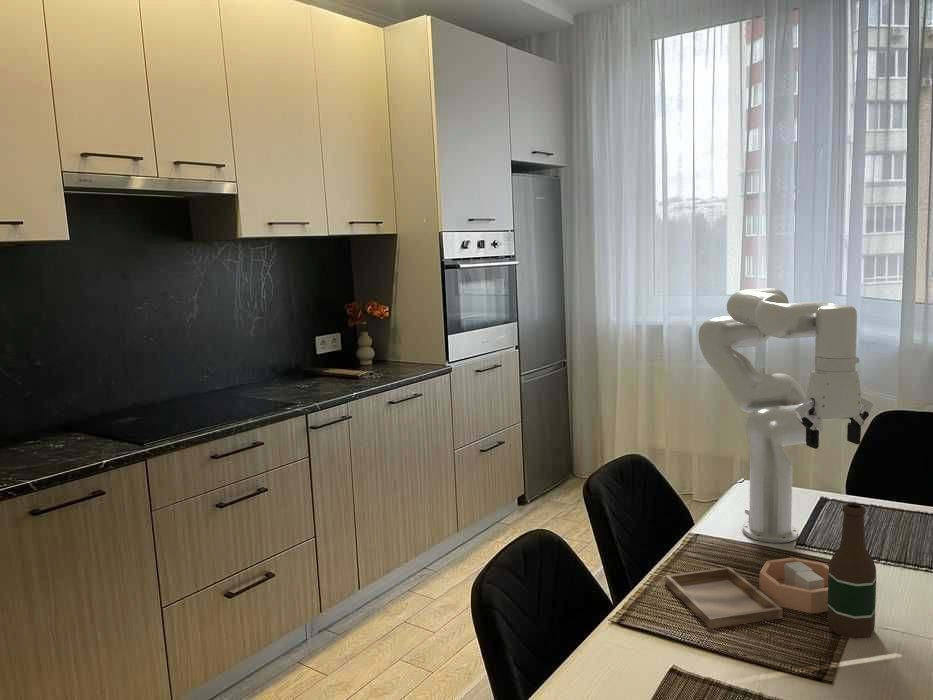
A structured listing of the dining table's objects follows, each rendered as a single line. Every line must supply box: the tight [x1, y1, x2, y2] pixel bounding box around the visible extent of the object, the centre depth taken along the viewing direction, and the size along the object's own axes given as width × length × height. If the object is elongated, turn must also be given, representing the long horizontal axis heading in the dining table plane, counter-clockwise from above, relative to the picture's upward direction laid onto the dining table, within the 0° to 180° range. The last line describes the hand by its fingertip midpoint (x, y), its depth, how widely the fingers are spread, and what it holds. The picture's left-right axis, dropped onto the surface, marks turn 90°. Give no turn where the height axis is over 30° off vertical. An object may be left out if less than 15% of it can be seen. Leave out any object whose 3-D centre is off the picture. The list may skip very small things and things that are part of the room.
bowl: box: [759, 557, 829, 614], centre depth 145 cm, size 15×15×5 cm
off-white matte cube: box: [784, 561, 813, 587], centre depth 146 cm, size 4×4×5 cm
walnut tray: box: [664, 566, 783, 629], centre depth 144 cm, size 19×15×2 cm
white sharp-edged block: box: [795, 570, 824, 590], centre depth 142 cm, size 4×4×5 cm
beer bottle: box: [826, 503, 877, 640], centre depth 130 cm, size 8×8×24 cm
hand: (833, 444), depth 151 cm, fingers open, 9 cm apart
